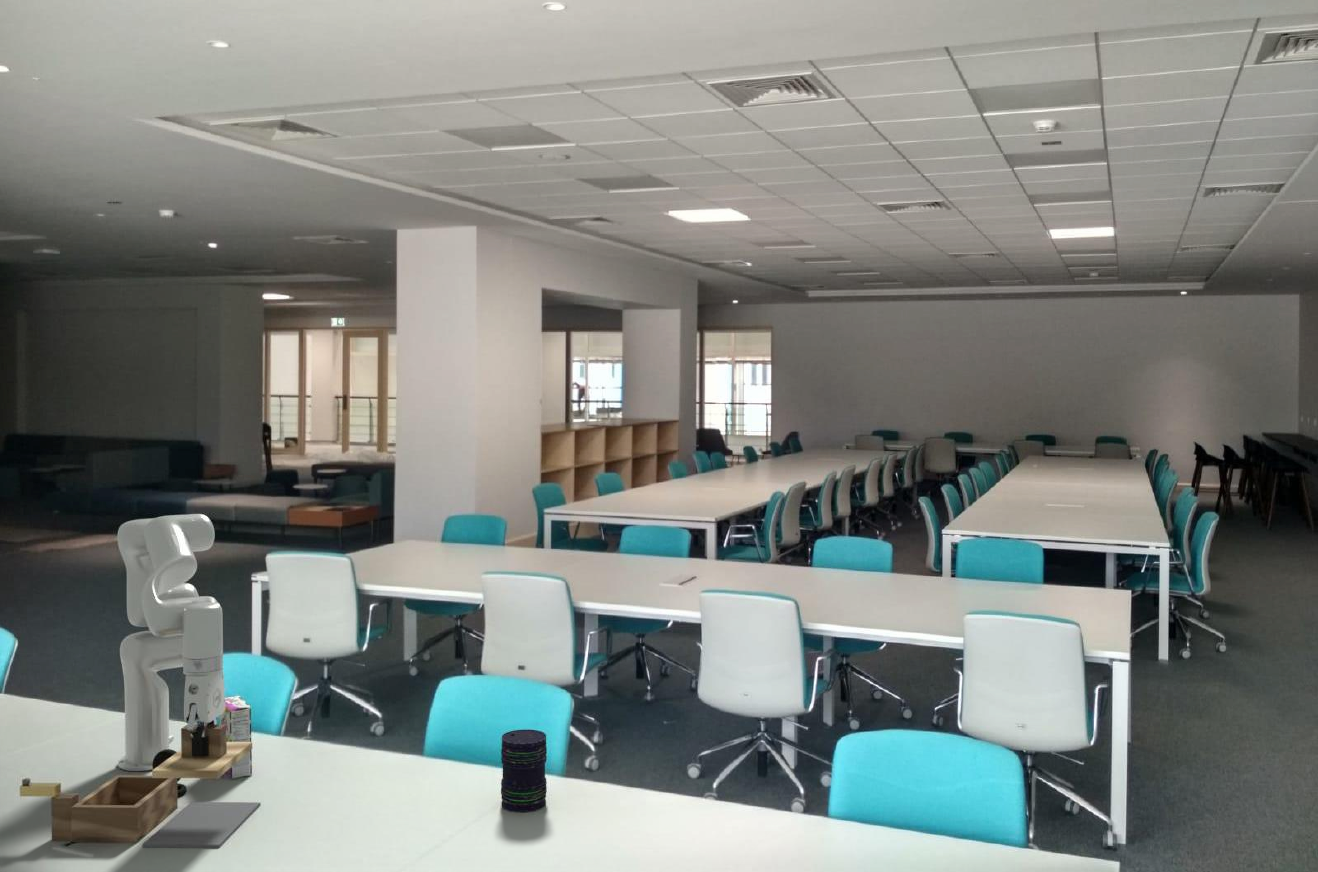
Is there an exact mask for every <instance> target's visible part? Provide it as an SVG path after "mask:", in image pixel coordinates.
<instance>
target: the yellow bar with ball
mask: <svg viewBox="0 0 1318 872" xmlns="http://www.w3.org/2000/svg"><path fill="white" fill-rule="evenodd" d="M60 793H62V783H60V782H31V778H26V777H25V778H23V779H22V780H21V785H20V786H19V797H45V798H46V797H48V798H49V797H50V798H52V797H55V796H57V795H58V794H60Z"/></svg>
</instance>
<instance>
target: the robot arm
mask: <svg viewBox="0 0 1318 872" xmlns="http://www.w3.org/2000/svg"><path fill="white" fill-rule="evenodd" d="M215 534H216V533H215V528H214V524H213V522H212V521H211V519H210V518H209V517H208V516H207V515H206V514H202V513H190V514H174V515H172V514H170V515H163V516H158V517H153V518H152V517H151V518H139V519H133V520H129V521H126V522H124V523H122V524H120V526H119V528H118V531H117V544H118V549H119V552H120V555H121V557H122V560H123V562H124V565H125V568H126V615H127V619H128V622H129V623H130V624H131V625H132V626H135V627H141V628H142V627H144V628H145V627H148V629H149V630H145V631H139V632H134V633H131V634H129V635H127V636H125V637H124V639H122V641H121V643H120V646H119V657H120V661H121V668H122V675H123V684H124V688H123V689H124V743H125V744H124V746H125V749H124V750H125V753H124V754H125V755H124V756H122V757H121V758H120V759H119V760H118V762H117V765H118V768H119V769H121V770H124V771H129V772H143V771H144V772H145V771H152V770H153V767H152V765H153V760H154V757H155V756H156V754H157V753H158V752H160V751H162V750H165V749H170V744H171V743H173V742H174V739H175V738H174V736H173V735H171V734H170V707H169V706H170V705H169V704H170V697H169V696H170V695H169V693H170V692H169V691H170V690H169V686H168V685H167V682H166V681H165V680H164V679H163V678H162V677H161V676H160V675H159V674H157V672H160V671H163V670H169V669H170V670H171V669H176V668H177V669H178V668H182V669H183V670H182V671H183V675H185V681H184V693H183V695H184V696H183V717H184V722H185V723H186V724H188V726H187V730H188V731H190V732H191V738H192V756H193V757H207V756H208V755H209V738H208V736H206V735H207V724H212V725H218V722H217V720H218V717H219V718H220V715H221V714H222V713H223V712H224V711H225V708H226V704H225V698H226V689H225V679H224V677H225V676H224V636H223V635H224V634H223V632H224V630H223V627H224V625H223V623H224V622H223V619H224V618H223V614H224V613H223V608H222V606H221V605H220V602H218V601H217V599H216V598H215V597H213V596H207V595H204V596H200V595H199V593H198V590H197V588H196V587H195V586H194V585H193V584H191V583H188V581H189V580H190V579H191V578H193V576H194V575H195V573H197V569H198V561H197V559H196V556H195V552H204V551H207V550H210V549H211V548H212V547H213V545H214V541H215V539H216V538H215ZM197 725H202V729H201V727H198V726H197Z"/></svg>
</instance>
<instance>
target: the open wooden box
mask: <svg viewBox="0 0 1318 872" xmlns="http://www.w3.org/2000/svg"><path fill="white" fill-rule="evenodd" d="M177 783H178V782H177V778H152V775H148V774H147V775H138V774H137V775H135V774H134V775H131V774H130V775H129V774H128V775H127V774H126V775H125V774H116V775H115V776H113V777H112V778H110V779H109V780H108V781H106V782H104V783H103V784H102V785H99V787H97V788H96V789H95V790H93V791H92V792H90V793H89V794H87V795H86V796H84V797H83V798H81V800H79V792H77V793H76V792H75V793H69V792H68V793H67V792H65V793H63V792H61V793H60V794H58V795H57V796H55V797H50V799H51V806H50V807H51V810H50V811H51V813H50V815H51V841H55V842H56V841H58V842H59V841H61V842H62V841H71V843H121V844H122V843H125V844H127V843H128V844H130V843H134V844H135V843H139V842H140V841H142V840H143V838H145V837H146V836H147V835H148V834H149V833H151V832H152V831H153V830H154V829H155V828H156V827H158V826H159V825H160V824H161V823H162V822H163V821H164V820H166V818H168V817H169V816H170V815H171V814H173V813H174V812H175V811H176V810H178V808H179V806H178V801H179V800H178V798H179V797H177V791H178V790H177Z"/></svg>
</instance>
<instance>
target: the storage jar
mask: <svg viewBox="0 0 1318 872" xmlns="http://www.w3.org/2000/svg"><path fill="white" fill-rule="evenodd" d="M547 749H548V747H547V734H546V733H545V732H544V731H540V730H536V729H517V730H516V729H513V730H511V731H507V732H505V733H503V734H502V735H501V748H500V756H501V758H500V760H501V764H502V778H501V782H500V785H501V787H500V797H501V808H502V809H503V810H505V811H507V812H510V813H517V814H518V813H521V814H523V813H533V812H537V811H540V810H542V809H544V808H545V807H546V805H547V800H546V798H547V792H548V791H547V787H548V786H547V783H548V782H547V777H546V762H547V757H548V756H547V753H548V752H547V751H548V750H547Z"/></svg>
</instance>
